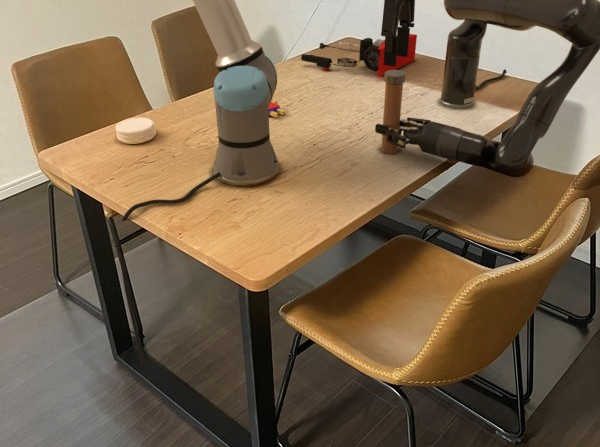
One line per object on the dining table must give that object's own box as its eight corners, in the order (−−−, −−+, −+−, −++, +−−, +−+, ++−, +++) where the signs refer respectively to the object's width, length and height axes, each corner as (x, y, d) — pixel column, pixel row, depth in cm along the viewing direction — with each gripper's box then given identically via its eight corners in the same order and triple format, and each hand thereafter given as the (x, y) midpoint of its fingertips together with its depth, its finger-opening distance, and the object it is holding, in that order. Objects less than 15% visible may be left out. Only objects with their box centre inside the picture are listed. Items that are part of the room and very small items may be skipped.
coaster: (128, 148, 157) (126, 135, 155) (110, 136, 163) (108, 123, 162) (163, 136, 162) (161, 124, 161) (144, 125, 169) (142, 113, 167)
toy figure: (289, 106, 174) (261, 93, 181) (270, 113, 170) (242, 99, 177) (289, 115, 175) (261, 101, 182) (270, 121, 171) (243, 107, 178)
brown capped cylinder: (378, 149, 155) (382, 75, 144) (388, 144, 157) (393, 70, 147) (390, 154, 152) (396, 79, 142) (401, 149, 154) (407, 75, 144)
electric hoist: (300, 34, 205) (379, 49, 190) (342, 21, 224) (417, 33, 209) (299, 65, 210) (376, 81, 195) (341, 49, 229) (414, 63, 214)
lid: (380, 80, 145) (380, 73, 144) (393, 75, 148) (393, 68, 147) (395, 85, 142) (396, 78, 141) (408, 80, 145) (409, 73, 144)
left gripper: (403, -56, 139) (396, 46, 151) (368, -41, 124) (363, 70, 137) (435, -54, 136) (425, 50, 148) (403, -39, 121) (395, 75, 134)
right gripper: (460, 116, 147) (396, 101, 155) (432, 137, 137) (366, 119, 146) (456, 145, 151) (394, 128, 159) (428, 167, 141) (365, 148, 150)
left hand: (395, 60), depth 142 cm, fingers open, 7 cm apart
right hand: (381, 124), depth 153 cm, fingers open, 4 cm apart
